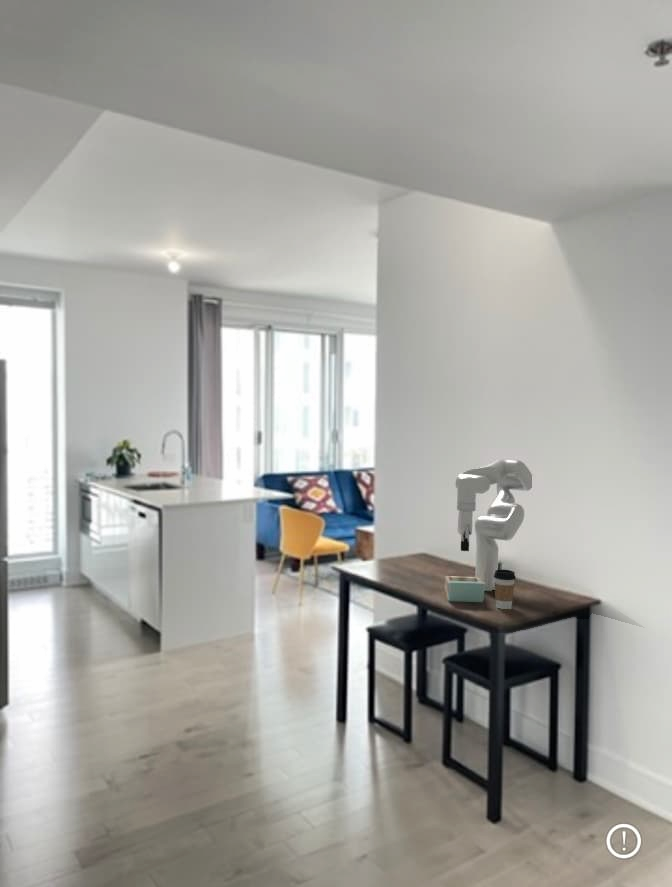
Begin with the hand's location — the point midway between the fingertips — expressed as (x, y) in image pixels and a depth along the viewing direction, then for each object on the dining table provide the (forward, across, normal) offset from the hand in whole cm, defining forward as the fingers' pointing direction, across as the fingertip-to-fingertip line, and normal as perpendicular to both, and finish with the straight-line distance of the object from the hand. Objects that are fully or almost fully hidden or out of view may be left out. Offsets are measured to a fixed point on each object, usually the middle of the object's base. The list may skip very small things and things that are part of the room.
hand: (464, 550), depth 279 cm
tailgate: (+20, +6, 0) cm, 21 cm away
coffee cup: (+20, +13, +14) cm, 28 cm away
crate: (+20, -1, 0) cm, 20 cm away
